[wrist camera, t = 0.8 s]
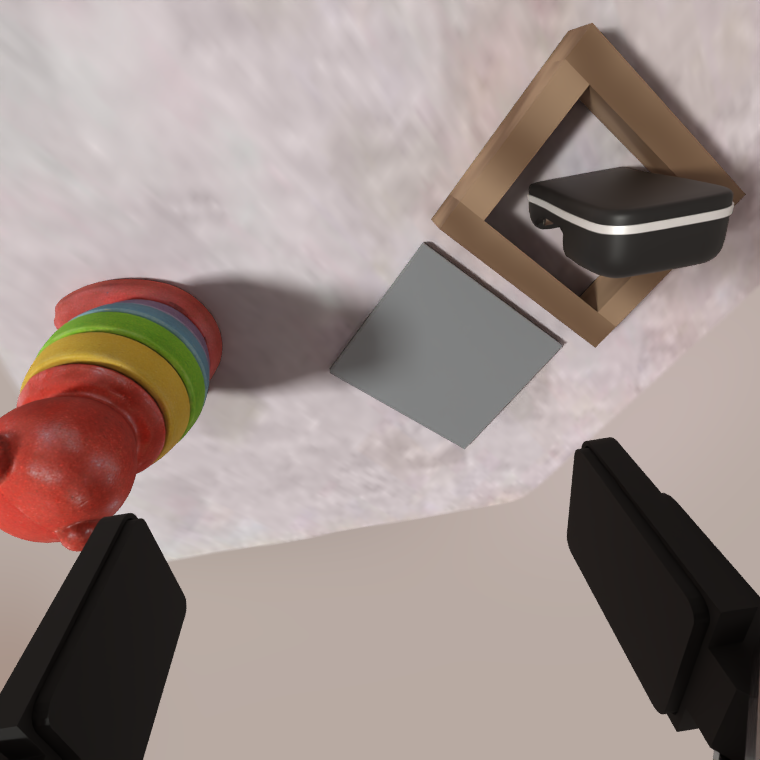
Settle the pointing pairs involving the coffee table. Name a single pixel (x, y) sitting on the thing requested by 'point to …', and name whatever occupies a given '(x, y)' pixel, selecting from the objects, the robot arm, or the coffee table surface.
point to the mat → (444, 349)
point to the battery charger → (633, 220)
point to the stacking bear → (102, 405)
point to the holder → (526, 136)
